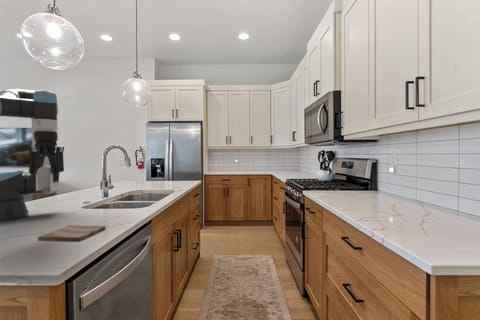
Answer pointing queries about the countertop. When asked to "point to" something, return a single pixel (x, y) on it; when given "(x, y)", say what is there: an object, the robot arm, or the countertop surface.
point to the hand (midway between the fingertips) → (46, 190)
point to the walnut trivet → (72, 233)
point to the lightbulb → (44, 177)
